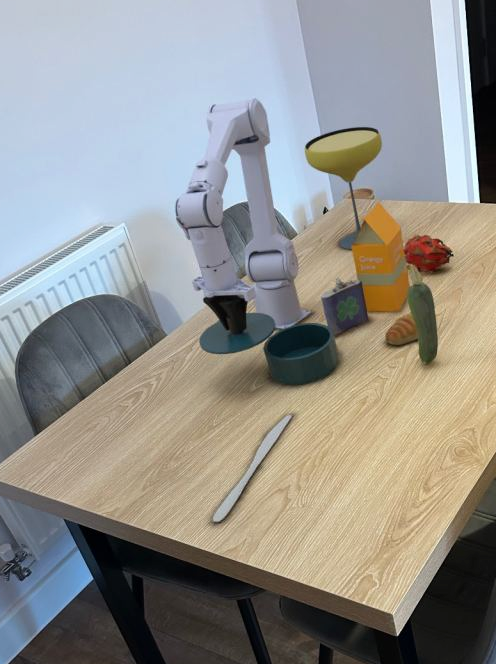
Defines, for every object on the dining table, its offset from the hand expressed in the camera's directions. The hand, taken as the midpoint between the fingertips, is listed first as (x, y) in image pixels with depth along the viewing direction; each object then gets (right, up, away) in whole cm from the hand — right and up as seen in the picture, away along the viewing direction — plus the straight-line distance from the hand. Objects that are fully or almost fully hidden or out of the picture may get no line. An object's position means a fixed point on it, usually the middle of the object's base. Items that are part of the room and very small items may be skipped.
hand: (236, 329), depth 139 cm
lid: (0, -1, +1) cm, 1 cm away
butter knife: (+6, -24, -17) cm, 31 cm away
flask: (+21, +2, +15) cm, 26 cm away
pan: (+12, -6, +5) cm, 15 cm away
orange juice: (+29, +8, +21) cm, 37 cm away
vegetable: (+36, -7, -3) cm, 36 cm away
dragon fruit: (+39, +17, +30) cm, 52 cm away
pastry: (+33, 0, +7) cm, 34 cm away
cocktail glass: (+24, +29, +51) cm, 63 cm away
